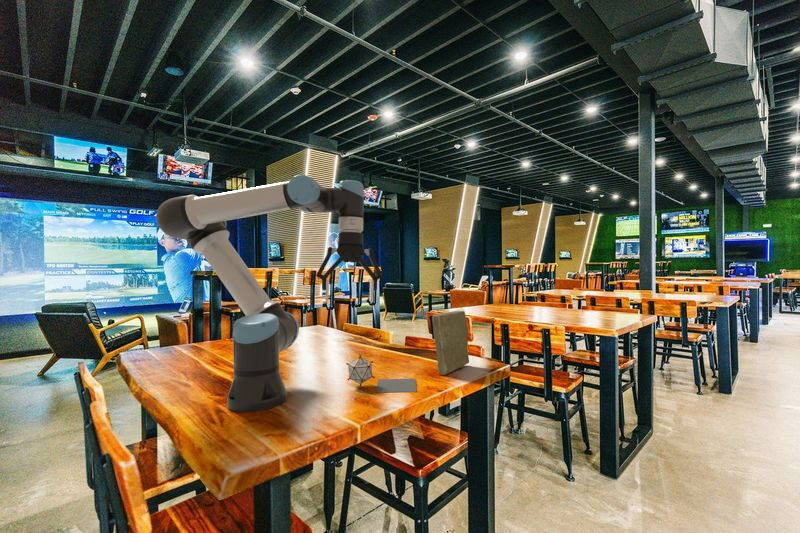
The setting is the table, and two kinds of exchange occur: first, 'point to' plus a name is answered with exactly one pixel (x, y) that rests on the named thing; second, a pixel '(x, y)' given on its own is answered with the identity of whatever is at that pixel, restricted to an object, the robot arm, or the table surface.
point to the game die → (360, 370)
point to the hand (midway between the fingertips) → (349, 301)
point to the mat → (396, 385)
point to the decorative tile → (451, 340)
